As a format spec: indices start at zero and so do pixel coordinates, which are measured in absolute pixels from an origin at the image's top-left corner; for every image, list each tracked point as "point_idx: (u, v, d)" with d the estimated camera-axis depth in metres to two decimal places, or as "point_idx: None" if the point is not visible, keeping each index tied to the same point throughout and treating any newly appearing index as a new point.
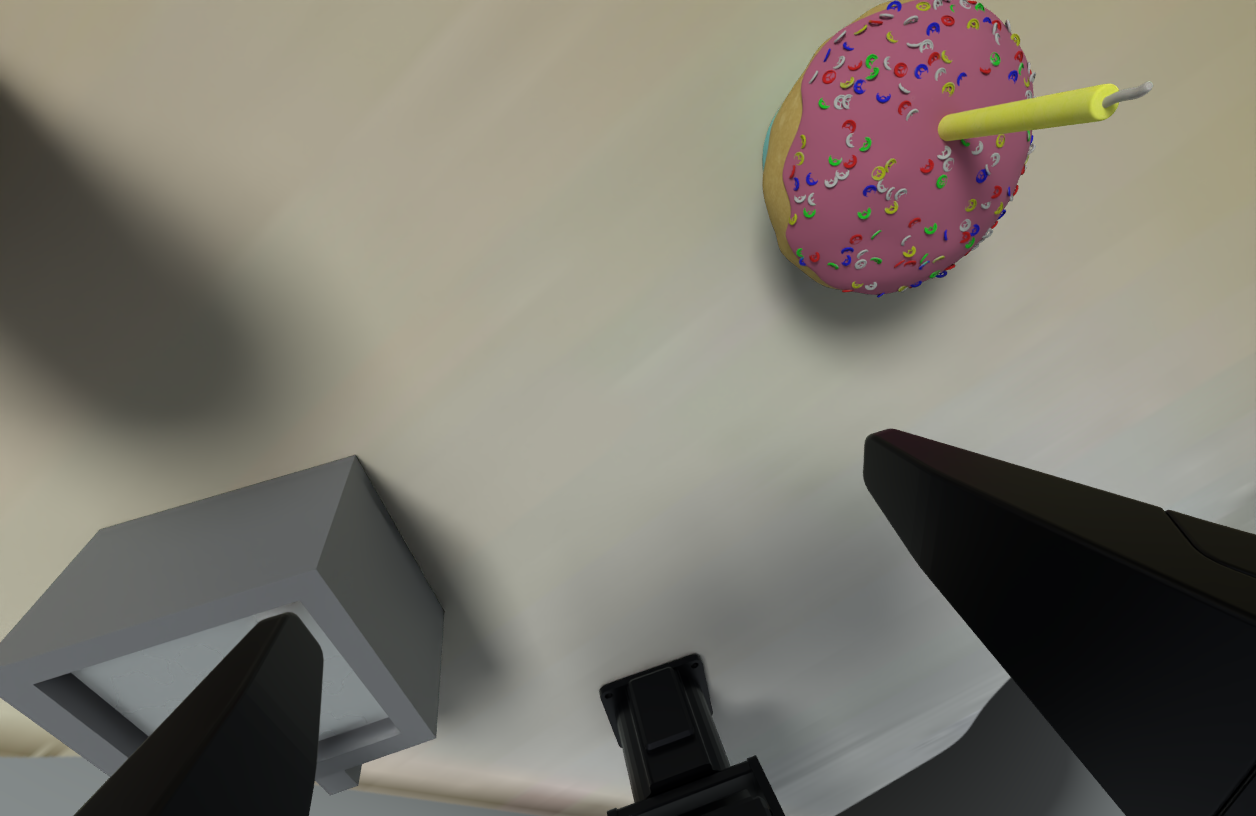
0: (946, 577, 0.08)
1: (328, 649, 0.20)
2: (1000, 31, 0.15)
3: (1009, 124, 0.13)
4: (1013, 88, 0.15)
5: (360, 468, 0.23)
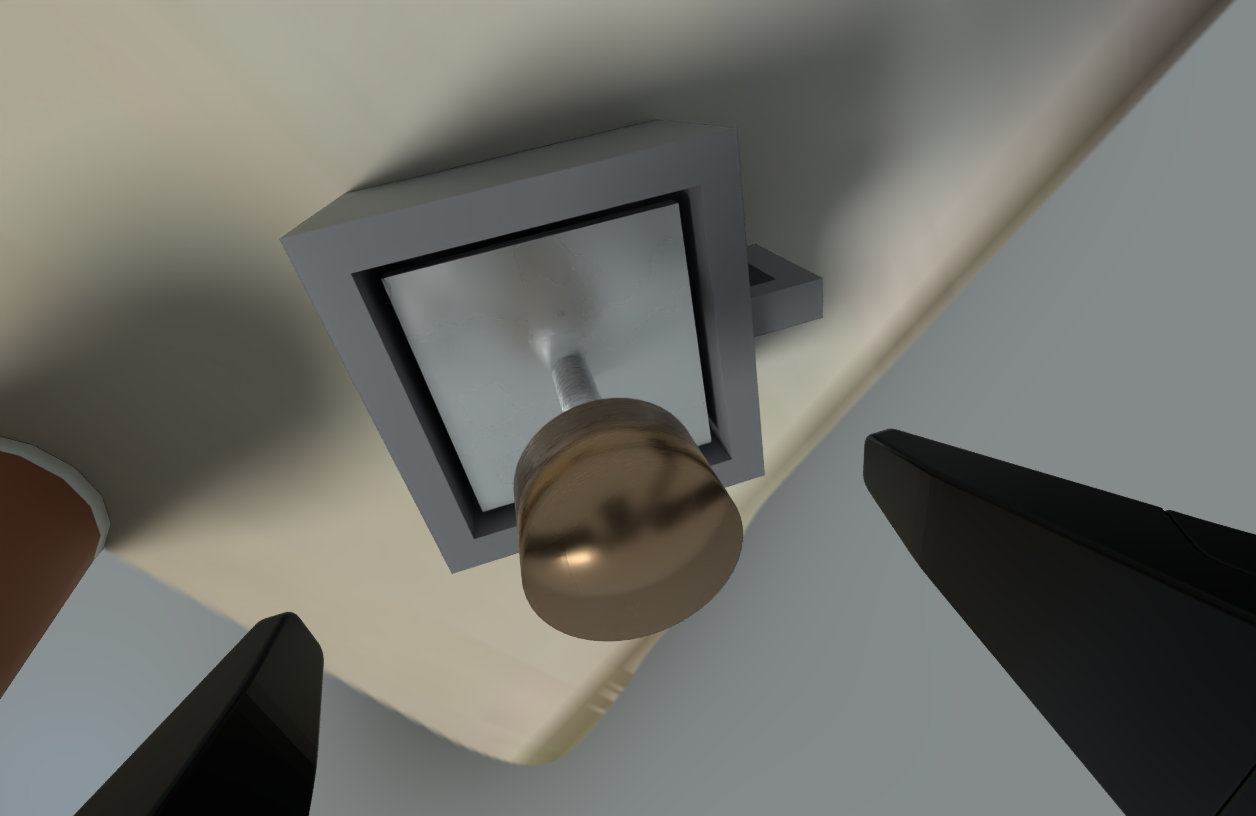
0: (946, 577, 0.08)
1: (497, 260, 0.13)
2: None
3: None
4: None
5: (362, 190, 0.17)
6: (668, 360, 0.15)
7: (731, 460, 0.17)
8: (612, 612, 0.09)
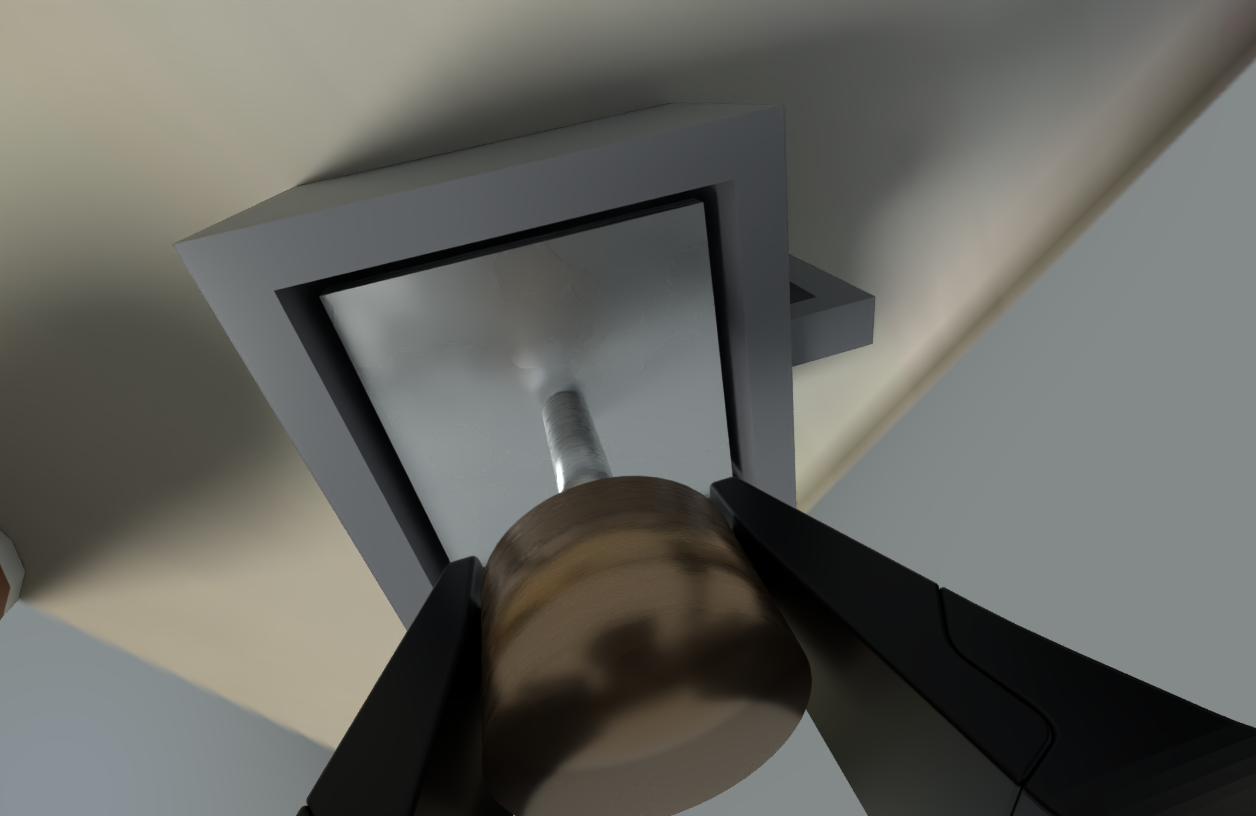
0: None
1: (471, 273, 0.10)
2: None
3: None
4: None
5: (315, 183, 0.14)
6: (686, 396, 0.13)
7: None
8: (618, 796, 0.06)
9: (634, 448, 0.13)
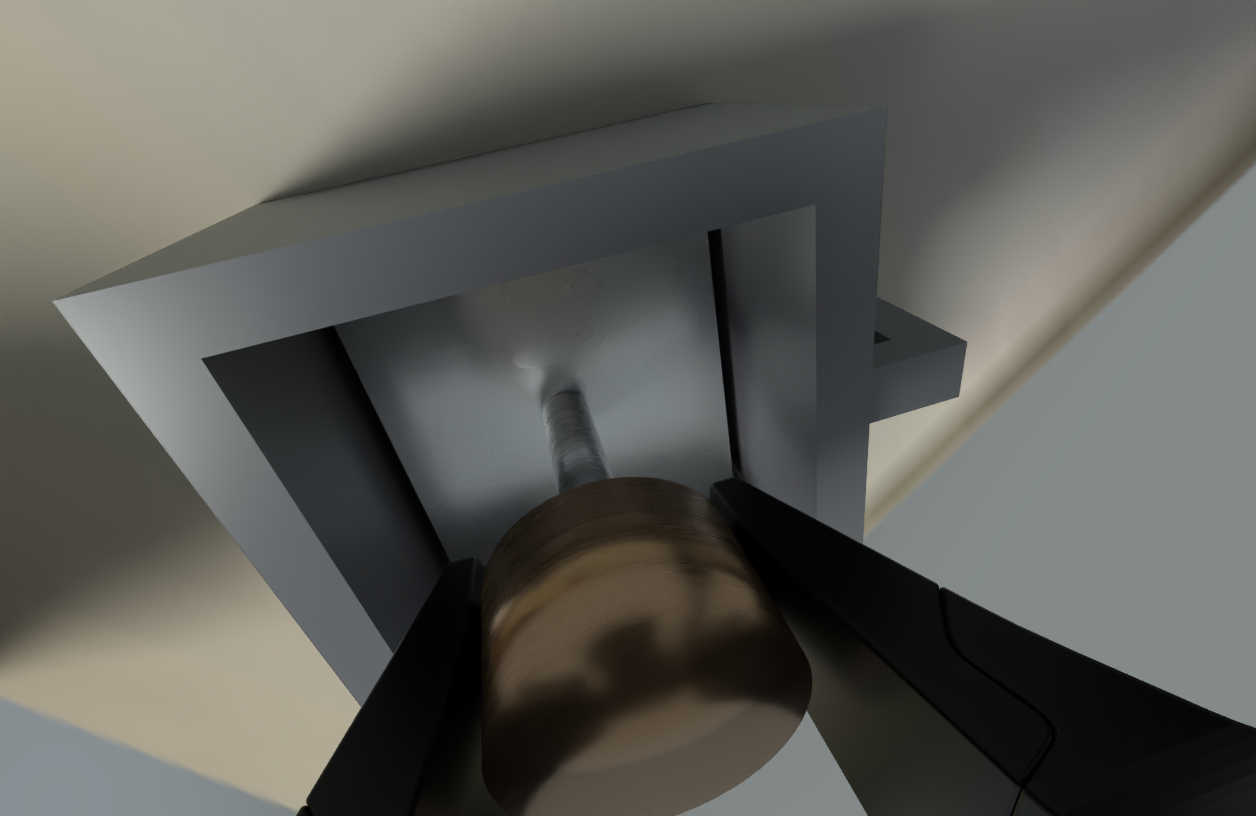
0: None
1: None
2: None
3: None
4: None
5: (281, 199, 0.11)
6: (686, 396, 0.13)
7: None
8: (618, 797, 0.06)
9: (634, 448, 0.13)
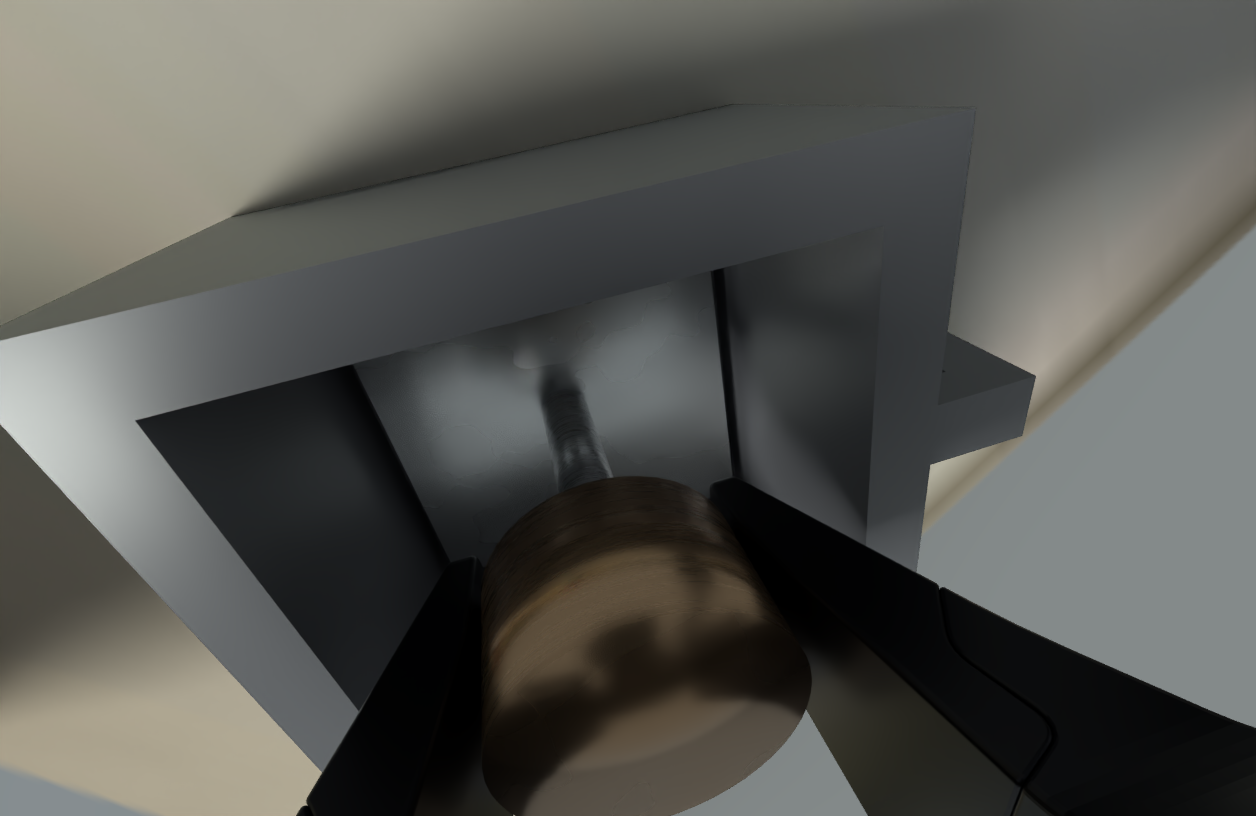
0: None
1: None
2: None
3: None
4: None
5: (256, 212, 0.10)
6: (686, 396, 0.13)
7: None
8: (618, 796, 0.06)
9: (634, 448, 0.13)
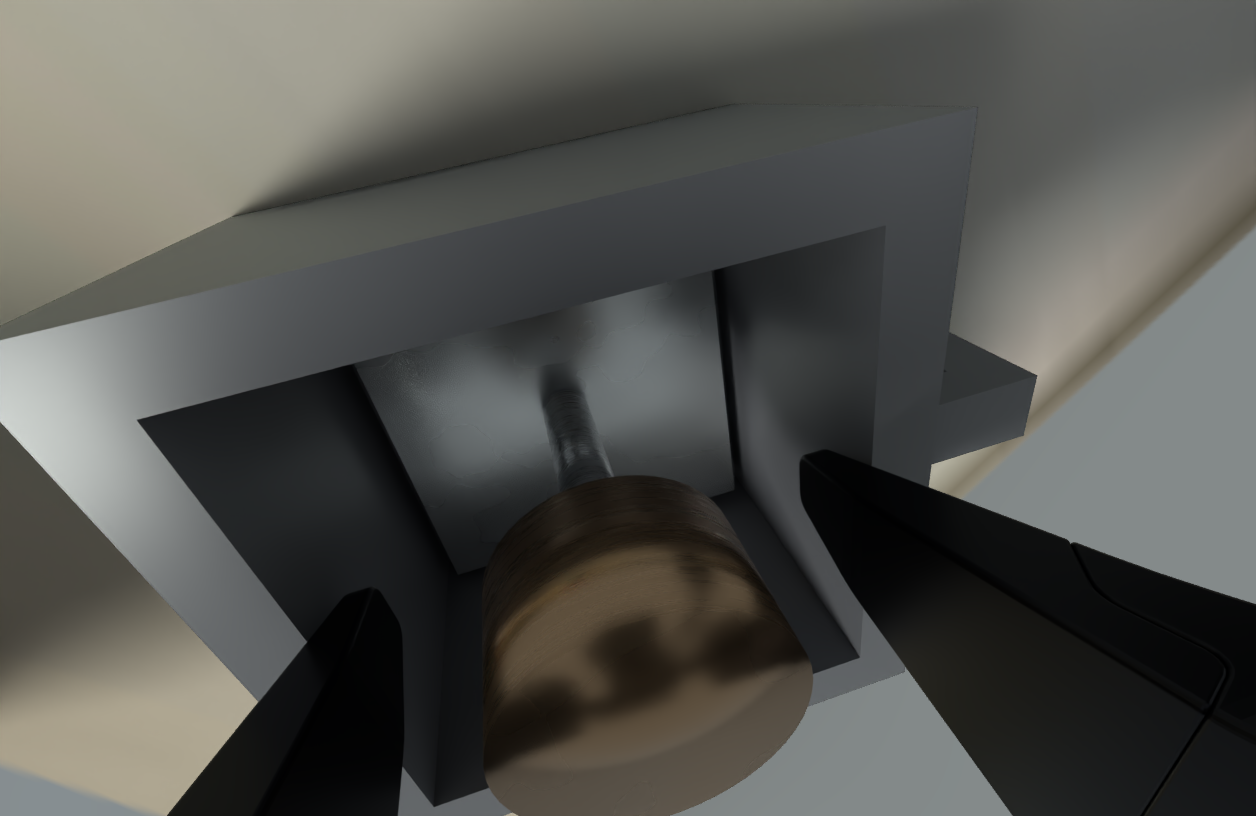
0: (873, 602, 0.08)
1: None
2: None
3: None
4: None
5: (257, 212, 0.10)
6: (687, 396, 0.13)
7: (856, 657, 0.10)
8: (619, 794, 0.06)
9: (635, 448, 0.13)
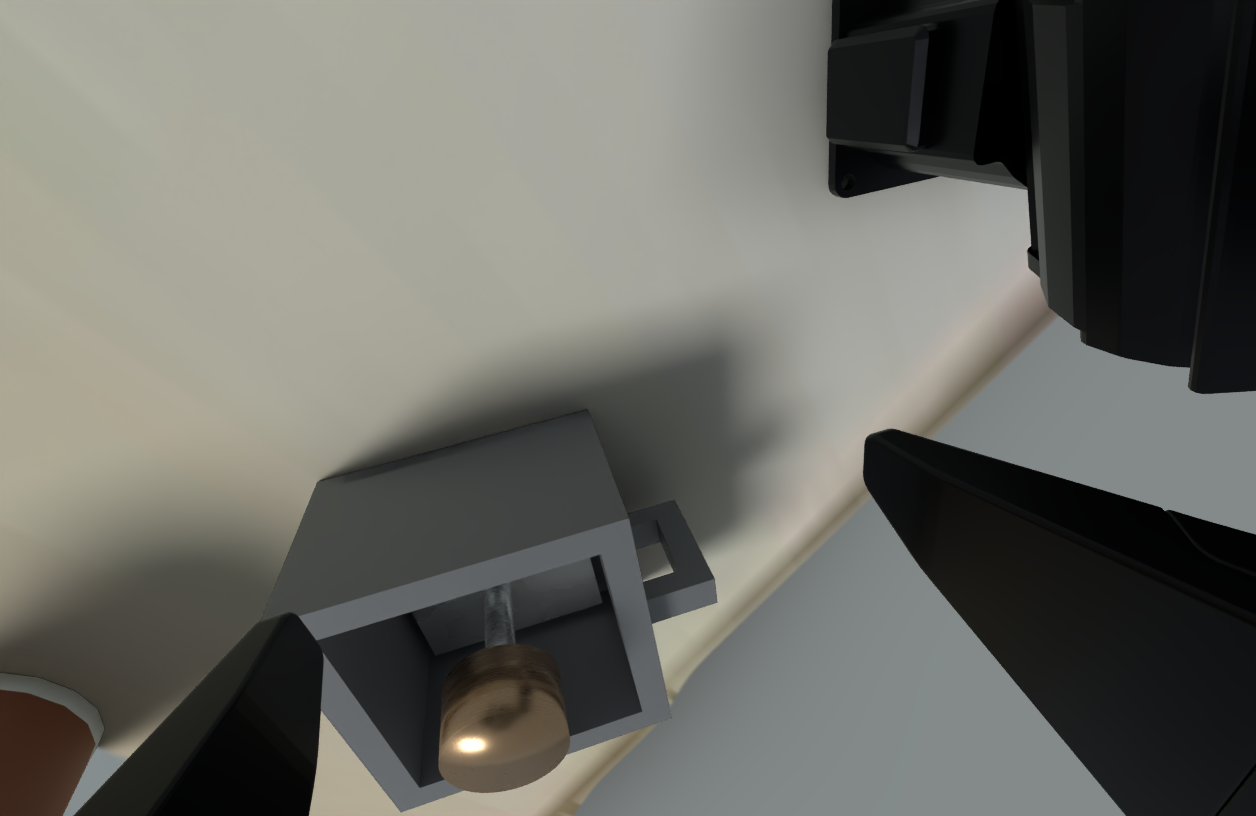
0: (946, 577, 0.08)
1: None
2: None
3: None
4: None
5: (332, 480, 0.20)
6: None
7: (642, 710, 0.20)
8: (494, 778, 0.16)
9: (538, 585, 0.23)
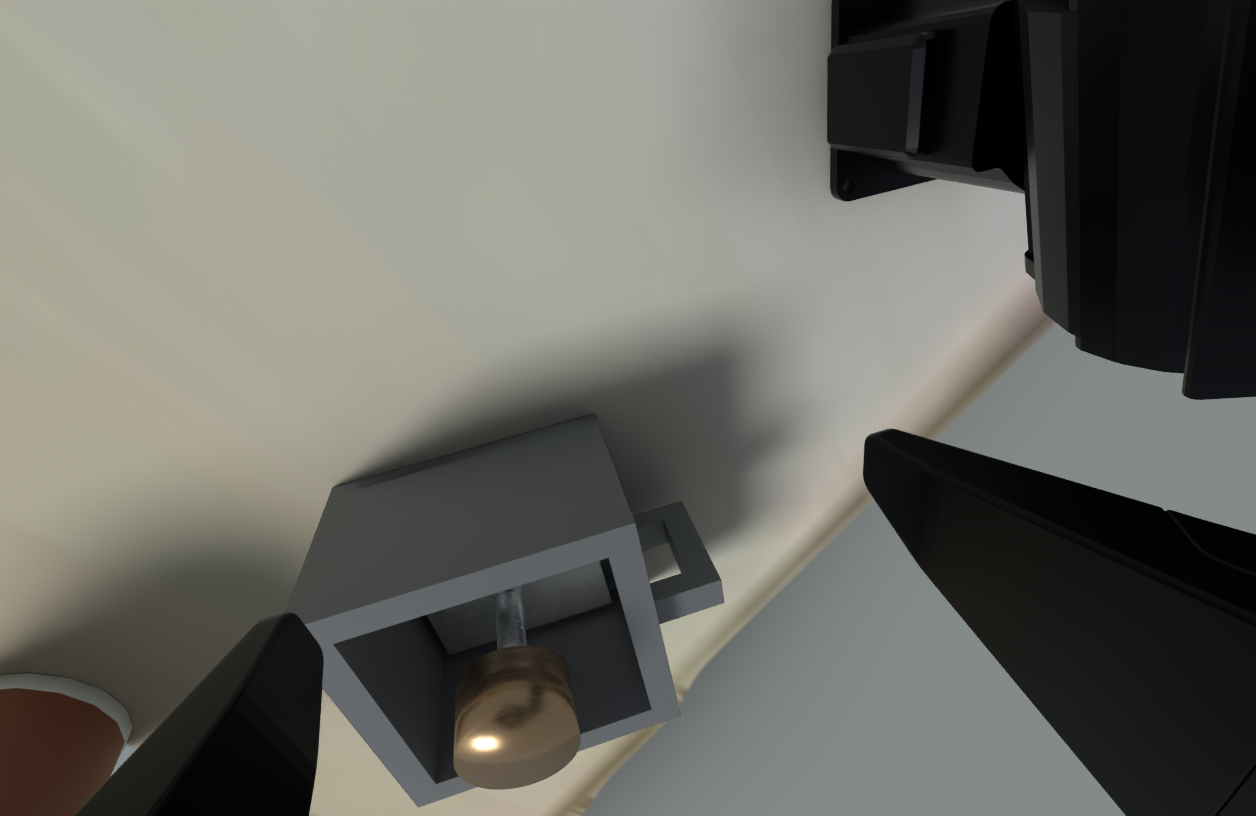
0: (946, 577, 0.08)
1: None
2: None
3: None
4: None
5: (347, 486, 0.20)
6: None
7: (651, 708, 0.21)
8: (507, 775, 0.16)
9: (548, 585, 0.23)
